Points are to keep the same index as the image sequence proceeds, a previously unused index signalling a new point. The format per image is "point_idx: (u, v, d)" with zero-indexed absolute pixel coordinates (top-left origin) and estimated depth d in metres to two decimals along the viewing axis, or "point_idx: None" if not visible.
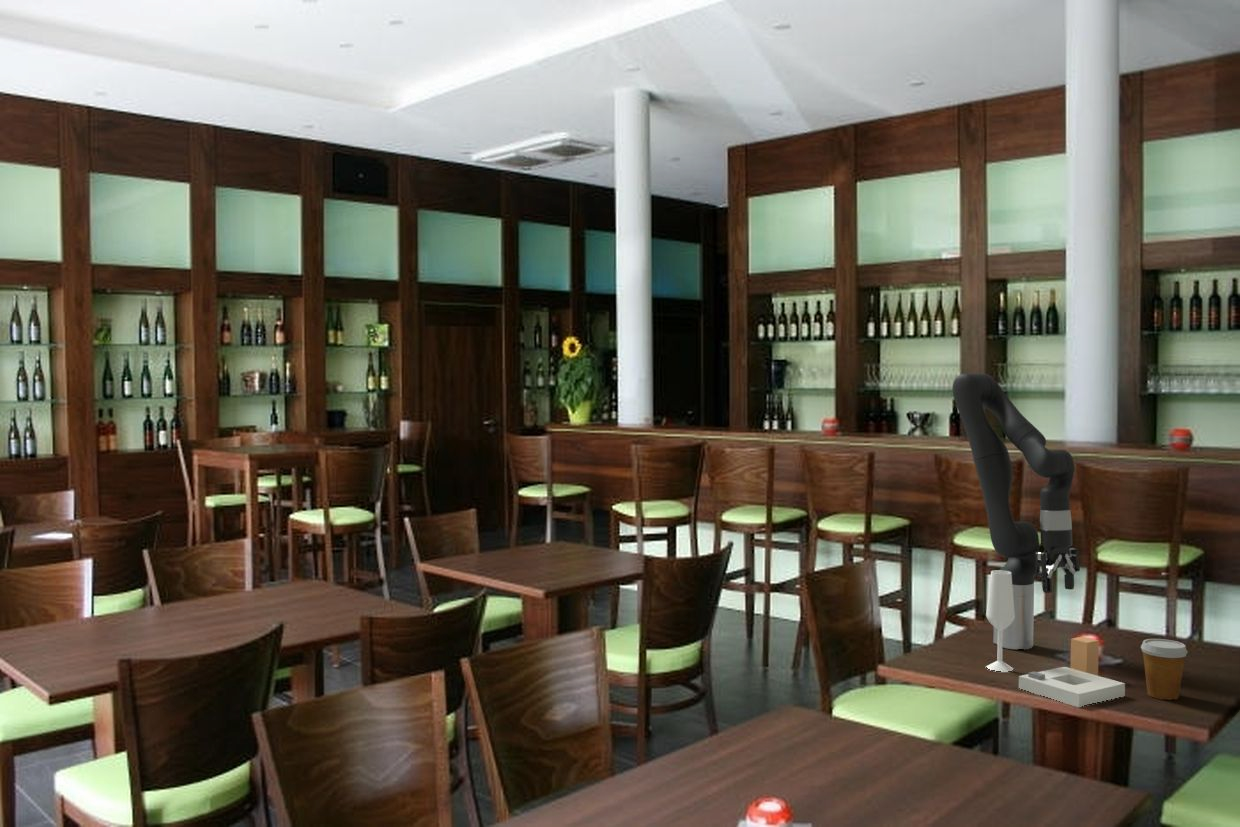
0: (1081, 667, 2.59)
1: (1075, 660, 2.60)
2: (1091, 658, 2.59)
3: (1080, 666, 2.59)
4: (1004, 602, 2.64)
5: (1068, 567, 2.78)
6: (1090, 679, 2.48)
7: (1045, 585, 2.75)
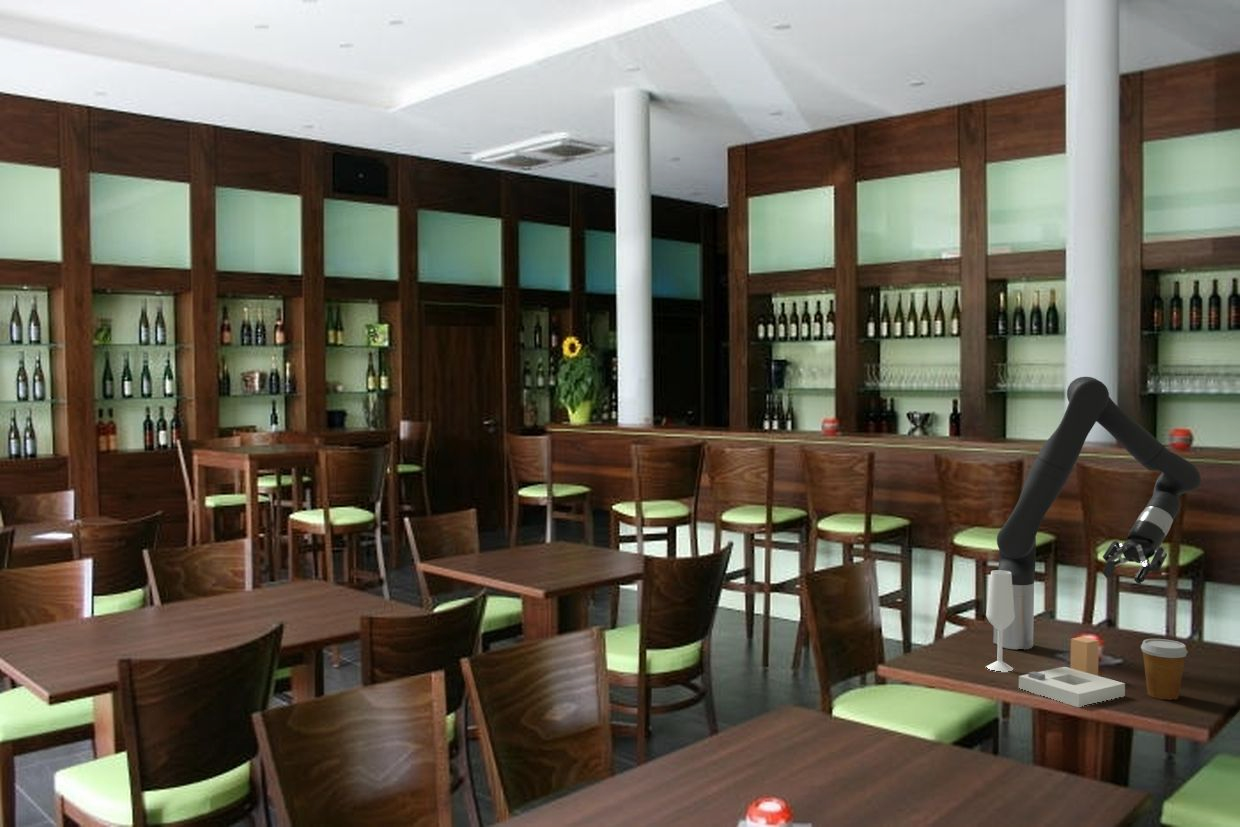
0: (1081, 667, 2.59)
1: (1075, 660, 2.60)
2: (1091, 658, 2.59)
3: (1080, 666, 2.59)
4: (1004, 602, 2.64)
5: (1123, 561, 2.71)
6: (1090, 679, 2.48)
7: (1144, 576, 2.63)
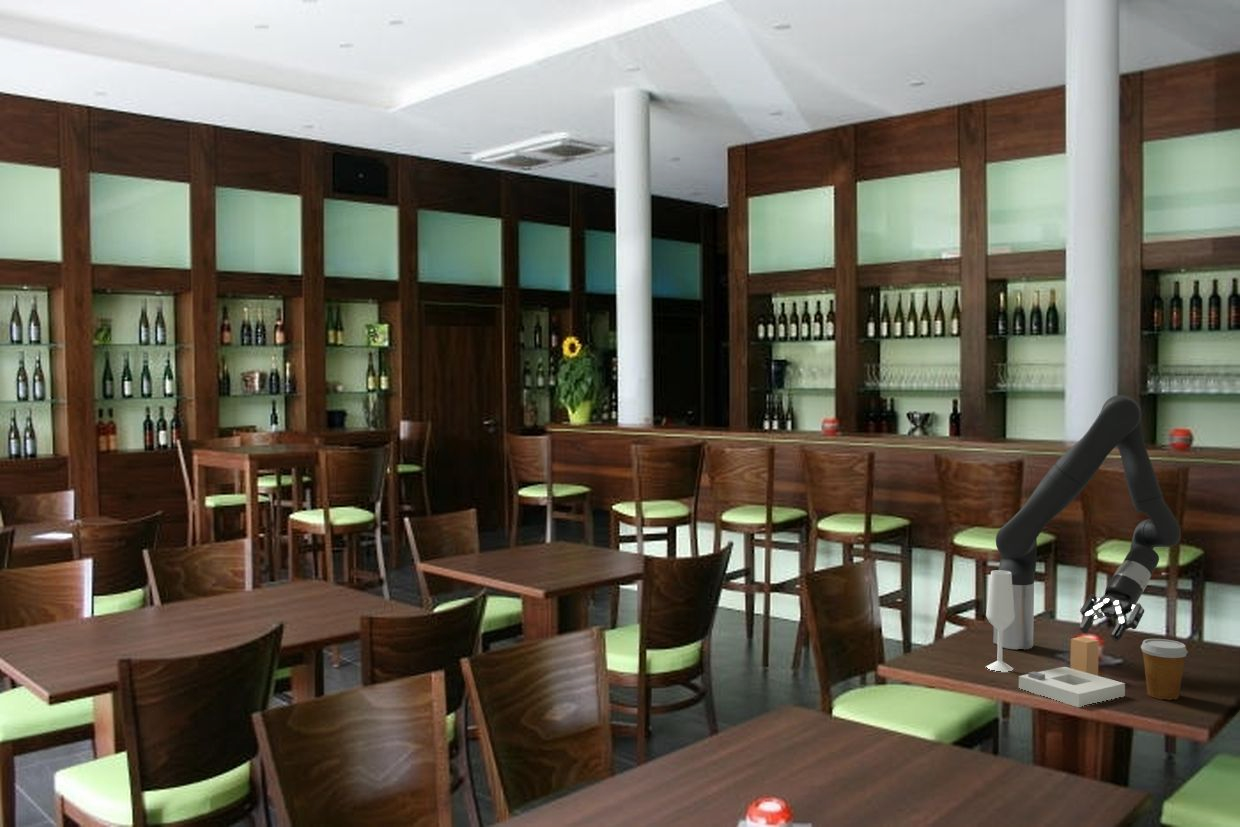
0: (1081, 667, 2.59)
1: (1075, 660, 2.60)
2: (1091, 658, 2.59)
3: (1080, 666, 2.59)
4: (1004, 602, 2.64)
5: (1100, 616, 2.68)
6: (1090, 679, 2.48)
7: (1121, 633, 2.59)
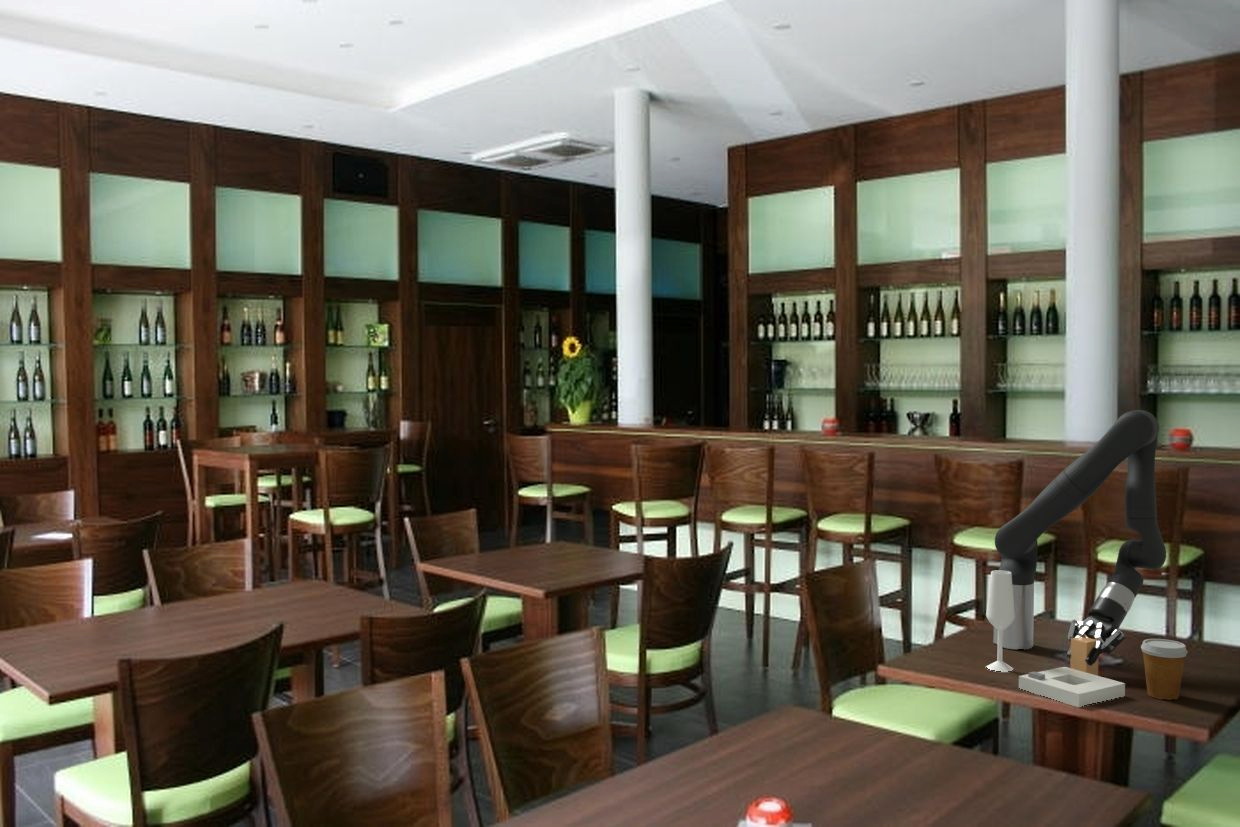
0: (1081, 667, 2.59)
1: (1075, 660, 2.60)
2: None
3: (1080, 666, 2.59)
4: (1004, 602, 2.64)
5: None
6: (1090, 679, 2.48)
7: (1096, 658, 2.58)
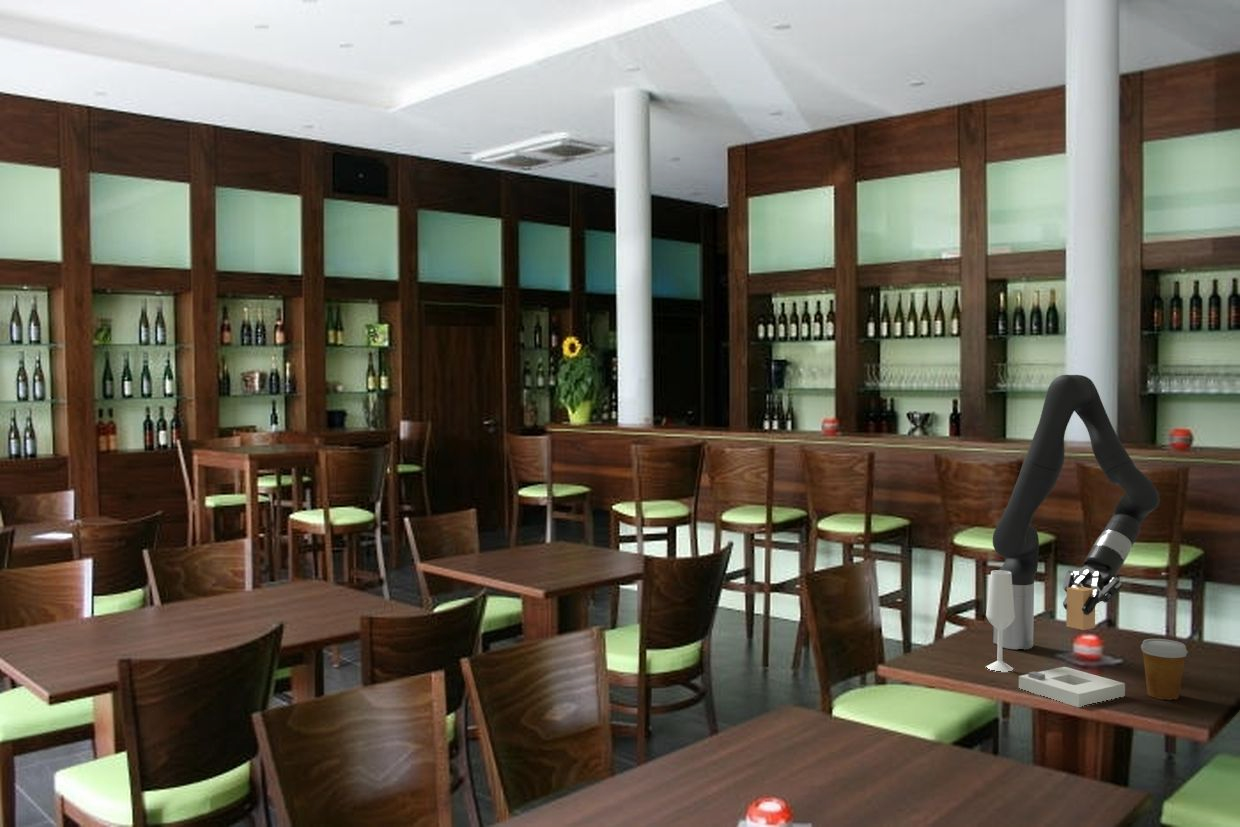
0: (1078, 617, 2.50)
1: (1071, 610, 2.51)
2: None
3: (1076, 615, 2.50)
4: (1004, 602, 2.64)
5: None
6: (1090, 679, 2.48)
7: (1093, 607, 2.49)
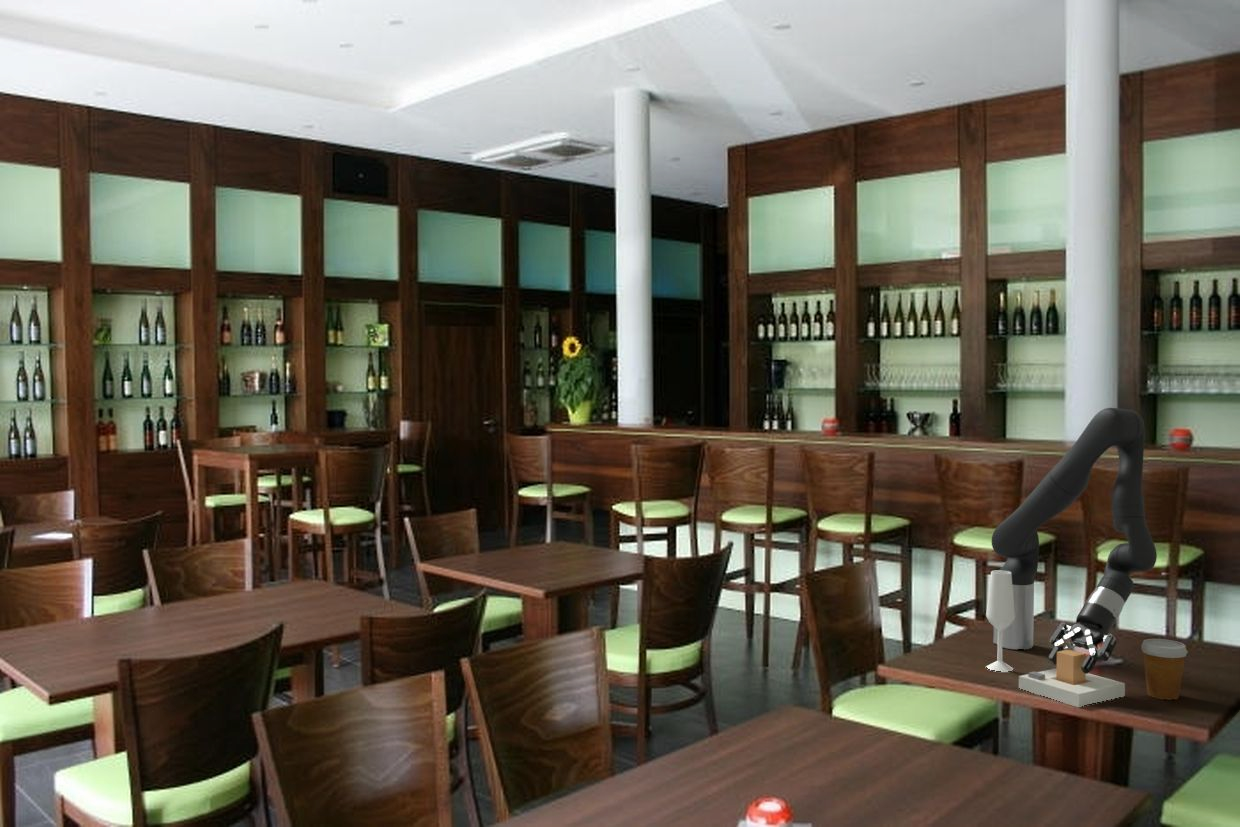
0: (1068, 682, 2.46)
1: (1061, 674, 2.47)
2: (1078, 672, 2.46)
3: (1066, 680, 2.46)
4: (1004, 602, 2.64)
5: (1070, 646, 2.52)
6: (1090, 679, 2.48)
7: (1092, 666, 2.43)
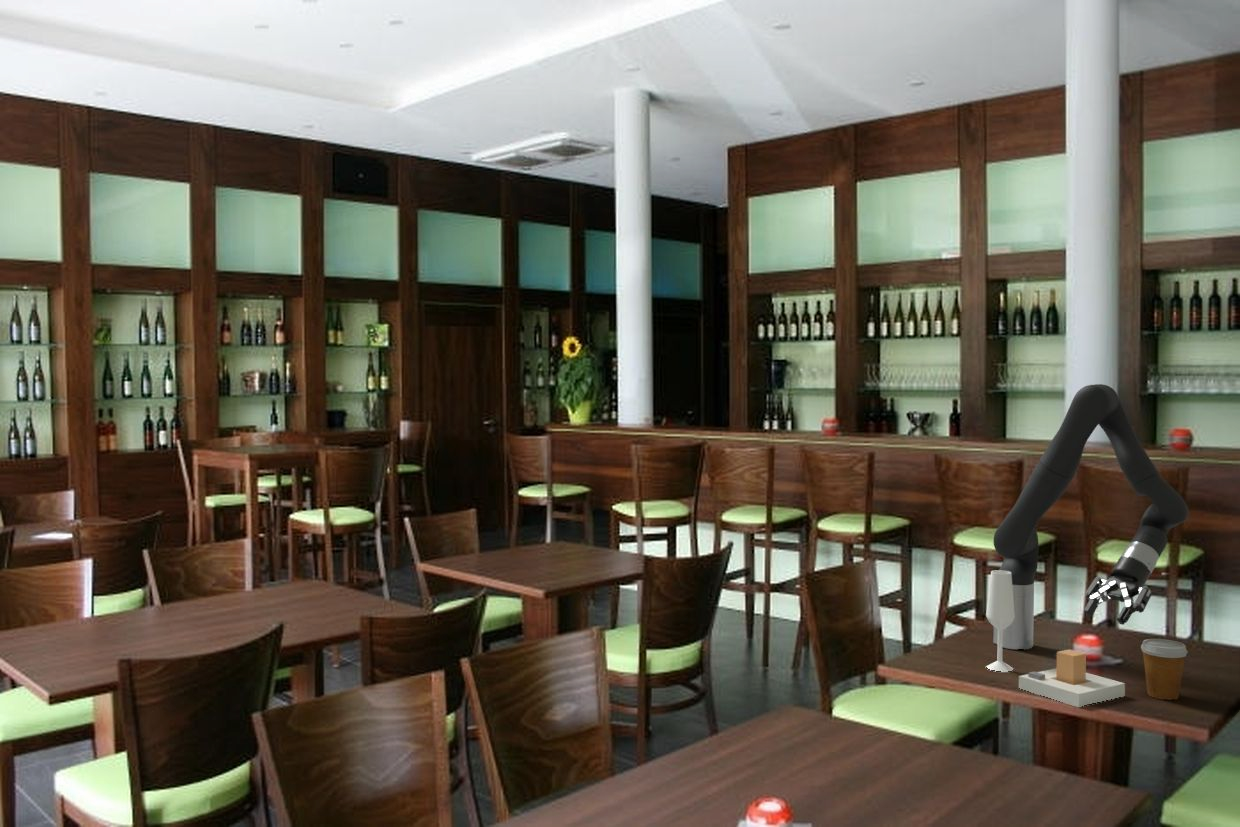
0: (1068, 682, 2.46)
1: (1061, 674, 2.47)
2: (1078, 672, 2.46)
3: (1066, 680, 2.46)
4: (1004, 602, 2.64)
5: (1106, 599, 2.58)
6: (1090, 679, 2.48)
7: (1128, 617, 2.49)
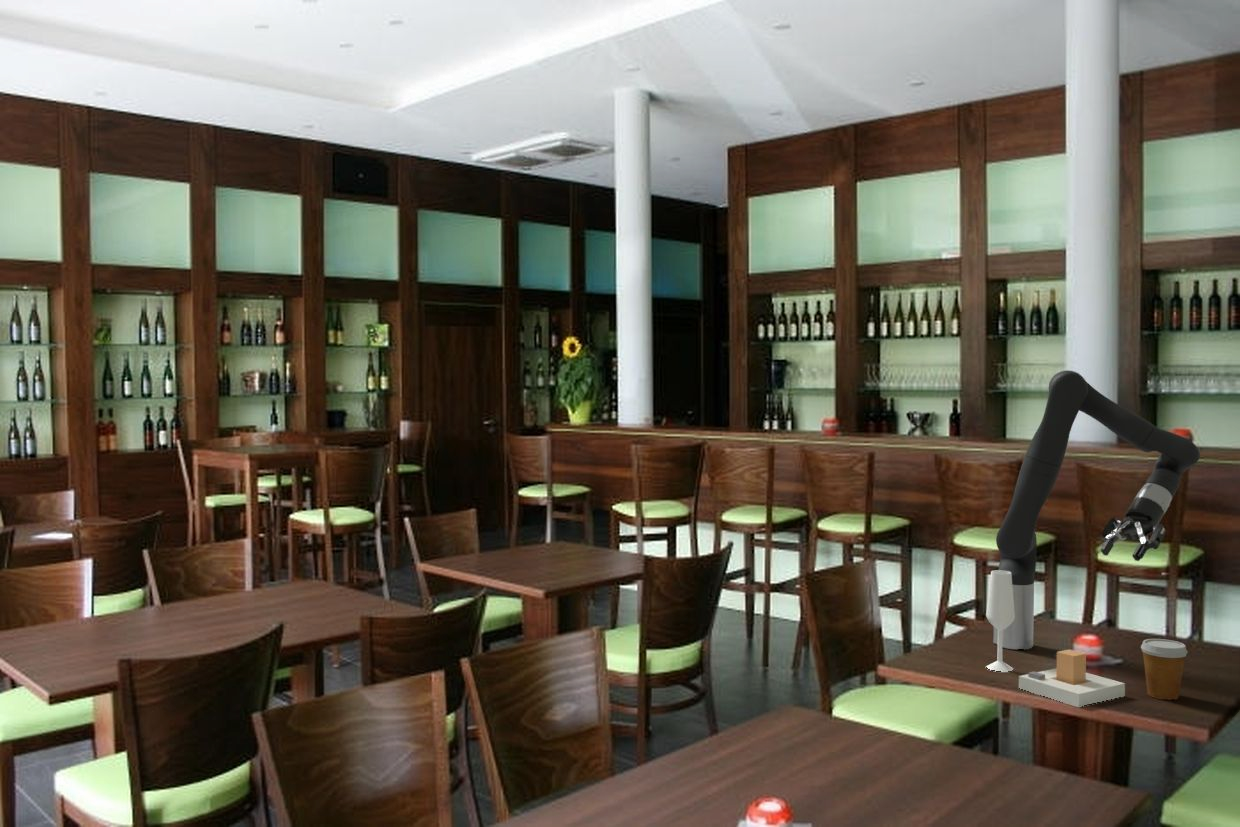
0: (1068, 682, 2.46)
1: (1061, 674, 2.47)
2: (1078, 672, 2.46)
3: (1066, 680, 2.46)
4: (1004, 602, 2.64)
5: (1121, 539, 2.68)
6: (1090, 679, 2.48)
7: (1143, 553, 2.59)
